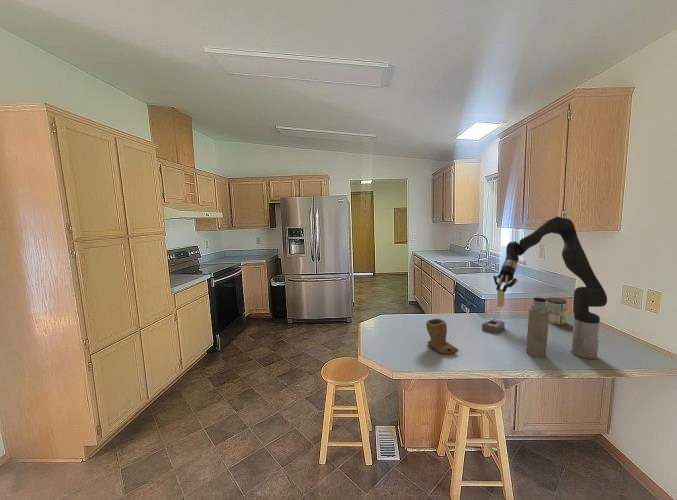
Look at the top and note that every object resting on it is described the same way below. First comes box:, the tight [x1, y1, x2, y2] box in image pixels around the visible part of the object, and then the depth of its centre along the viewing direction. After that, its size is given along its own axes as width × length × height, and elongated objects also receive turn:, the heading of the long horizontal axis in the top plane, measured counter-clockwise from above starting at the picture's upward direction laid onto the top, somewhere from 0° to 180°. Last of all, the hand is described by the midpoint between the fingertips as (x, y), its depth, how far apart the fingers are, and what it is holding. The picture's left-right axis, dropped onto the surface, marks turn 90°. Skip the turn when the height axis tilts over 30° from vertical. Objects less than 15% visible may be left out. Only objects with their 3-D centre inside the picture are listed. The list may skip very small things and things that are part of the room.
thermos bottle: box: [525, 297, 549, 359], centre depth 139 cm, size 8×8×28 cm
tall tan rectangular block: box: [497, 288, 505, 308], centre depth 175 cm, size 4×2×10 cm, turn 132°
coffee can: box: [545, 297, 567, 325], centre depth 181 cm, size 10×10×14 cm
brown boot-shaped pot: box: [425, 318, 459, 355], centre depth 147 cm, size 15×12×15 cm
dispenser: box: [481, 317, 506, 334], centre depth 170 cm, size 12×8×6 cm, turn 132°
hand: (500, 291), depth 173 cm, fingers closed on tall tan rectangular block, 2 cm apart
